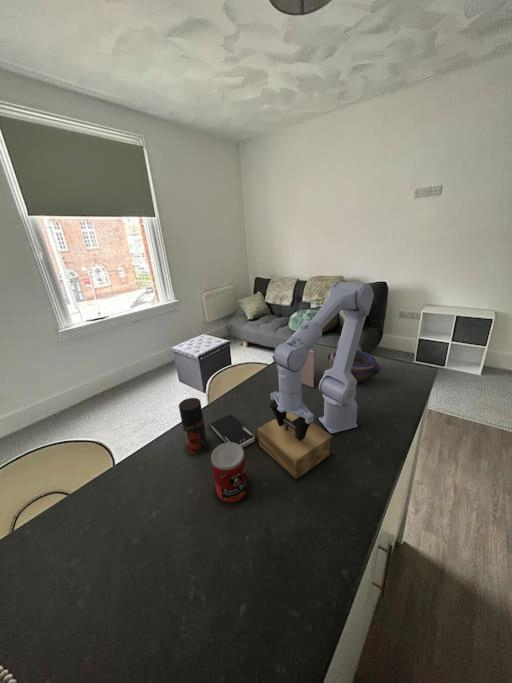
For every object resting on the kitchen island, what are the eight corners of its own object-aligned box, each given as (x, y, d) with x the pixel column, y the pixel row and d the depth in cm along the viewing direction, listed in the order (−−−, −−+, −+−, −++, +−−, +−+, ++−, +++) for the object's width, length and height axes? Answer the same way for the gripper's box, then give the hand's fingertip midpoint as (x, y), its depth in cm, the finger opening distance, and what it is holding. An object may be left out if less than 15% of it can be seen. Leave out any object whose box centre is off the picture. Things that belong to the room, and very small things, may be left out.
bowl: (382, 388, 105) (385, 364, 101) (334, 390, 105) (335, 367, 102) (365, 366, 121) (367, 345, 118) (324, 369, 122) (325, 348, 118)
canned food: (223, 509, 63) (217, 473, 59) (212, 484, 70) (206, 449, 66) (253, 494, 66) (250, 458, 62) (239, 471, 73) (235, 437, 69)
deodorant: (211, 442, 84) (204, 400, 78) (199, 456, 79) (191, 412, 73) (195, 437, 86) (187, 396, 81) (183, 450, 81) (174, 407, 76)
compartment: (290, 426, 88) (290, 412, 86) (329, 455, 76) (330, 439, 74) (259, 445, 81) (257, 430, 79) (296, 479, 69) (295, 463, 67)
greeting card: (315, 387, 109) (316, 352, 103) (297, 390, 107) (297, 355, 102) (304, 374, 119) (304, 341, 114) (287, 376, 118) (287, 344, 112)
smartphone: (230, 414, 94) (255, 437, 82) (230, 417, 95) (256, 440, 83) (210, 423, 90) (233, 449, 78) (210, 426, 91) (234, 452, 79)
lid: (292, 411, 86) (292, 399, 85) (332, 438, 74) (332, 424, 73) (257, 430, 79) (256, 417, 78) (295, 463, 67) (295, 448, 66)
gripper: (260, 383, 74) (263, 424, 79) (298, 407, 63) (299, 453, 68) (280, 374, 78) (282, 414, 83) (320, 395, 67) (319, 440, 72)
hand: (291, 431), depth 76 cm, fingers open, 7 cm apart
